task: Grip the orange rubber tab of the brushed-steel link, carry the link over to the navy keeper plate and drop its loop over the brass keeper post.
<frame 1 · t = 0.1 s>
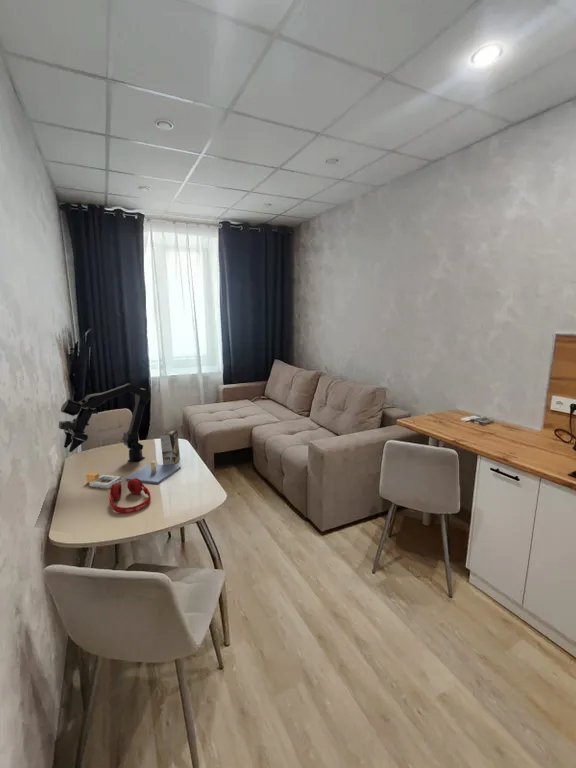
hand: (67, 449, 174), 15 cm above the table, tool tilted 35°, fingers open, 9 cm apart
steel link: (106, 483, 170), on the table
keeper: (154, 474, 178), on the table
coffee box: (171, 461, 193), on the table
headphones: (130, 502, 151), on the table
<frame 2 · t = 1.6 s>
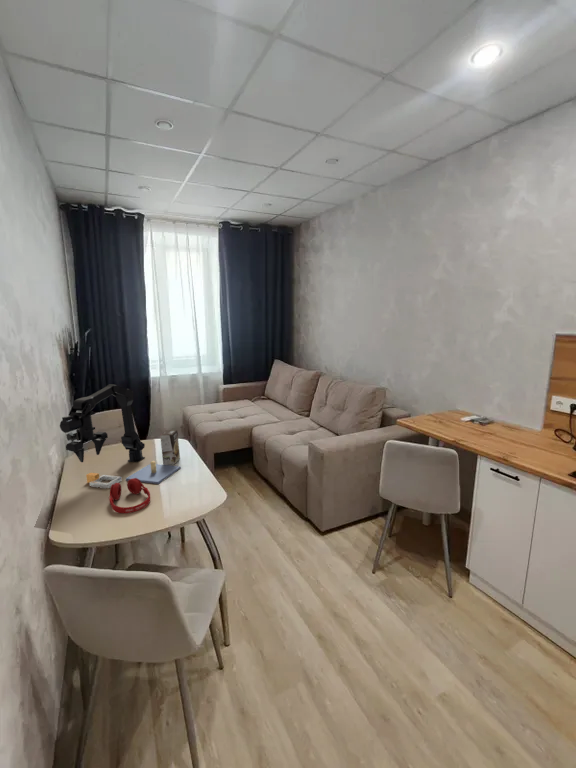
hand: (90, 458, 170), 12 cm above the table, tool pointing down, fingers open, 9 cm apart
nothing on the table moved.
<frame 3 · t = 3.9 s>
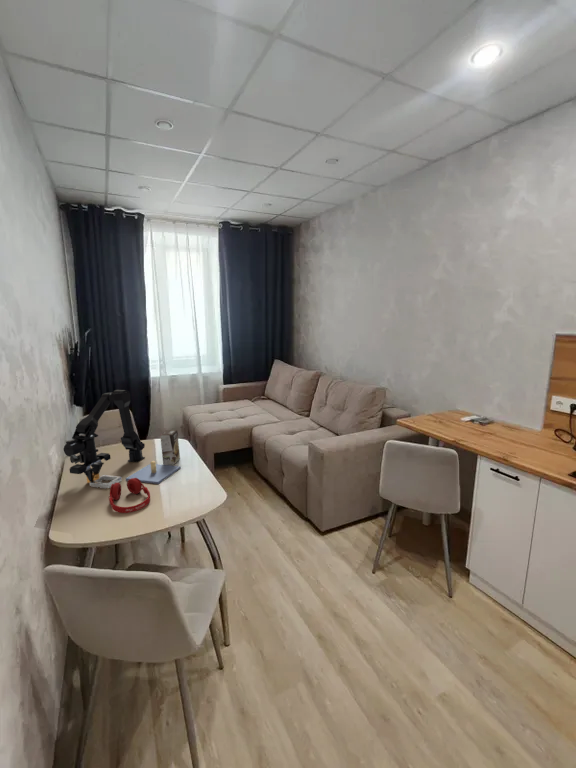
hand: (93, 480, 172), 1 cm above the table, tool pointing down, fingers closed on steel link, 2 cm apart
steel link: (106, 483, 170), on the table, touching gripper
everything else where it was.
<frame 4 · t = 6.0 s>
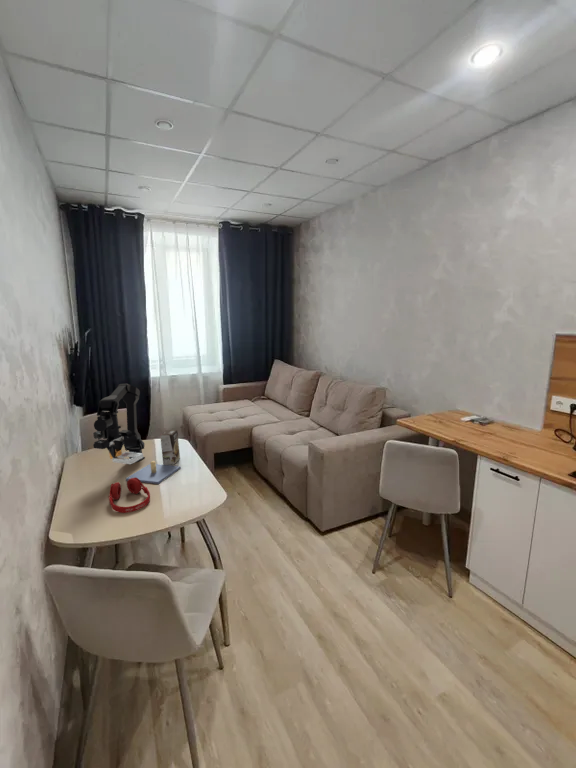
hand: (115, 456, 174), 11 cm above the table, tool pointing down, fingers closed on steel link, 2 cm apart
steel link: (128, 459, 172), point 10 cm above the table, touching gripper
everything else where it was.
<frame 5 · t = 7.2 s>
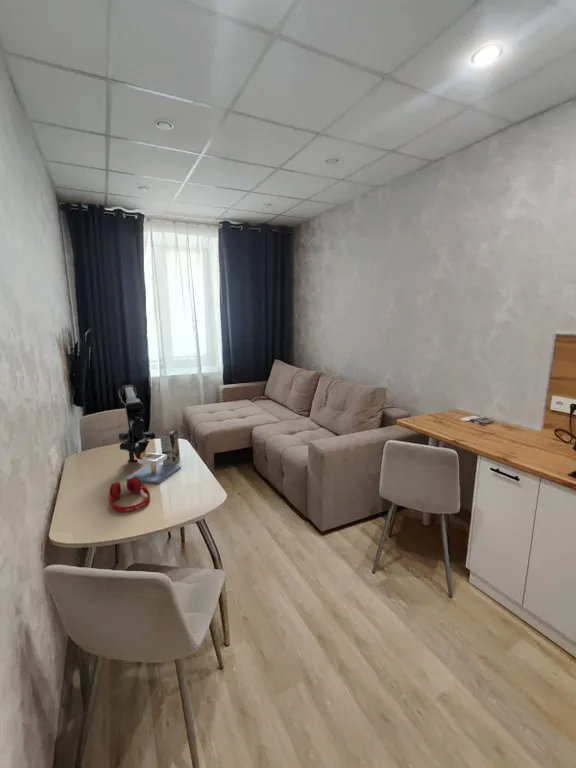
hand: (140, 457, 179), 8 cm above the table, tool pointing down, fingers closed on steel link, 2 cm apart
steel link: (152, 460, 177), point 7 cm above the table, touching gripper
everything else where it was.
when the fingers open (7 cm above the table, at t = 8.2 s): steel link drops 5 cm, resting on keeper.
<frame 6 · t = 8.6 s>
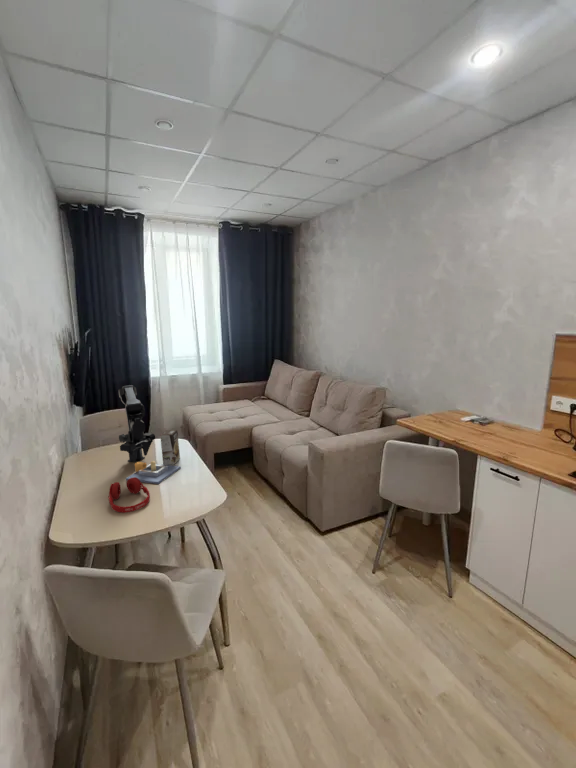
hand: (140, 458, 179), 7 cm above the table, tool pointing down, fingers open, 7 cm apart
steel link: (153, 472, 178), point 1 cm above the table, touching keeper
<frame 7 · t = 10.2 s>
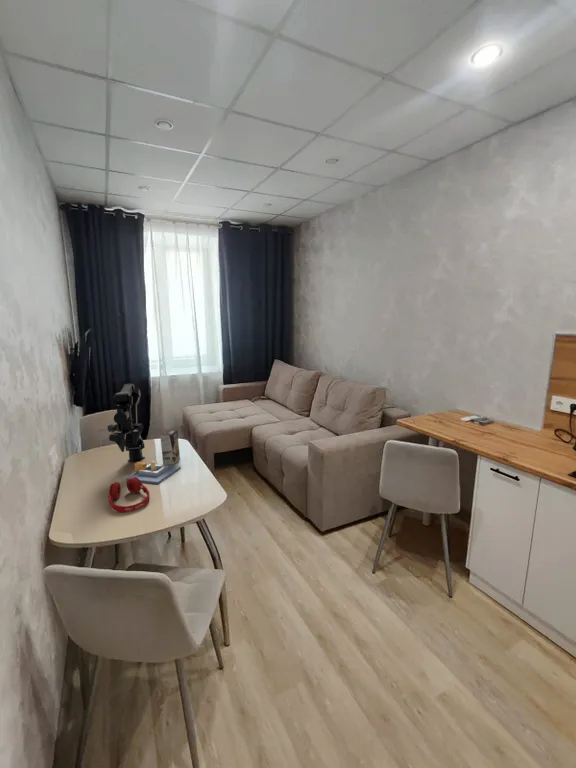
hand: (129, 448, 181), 12 cm above the table, tool pointing down, fingers open, 9 cm apart
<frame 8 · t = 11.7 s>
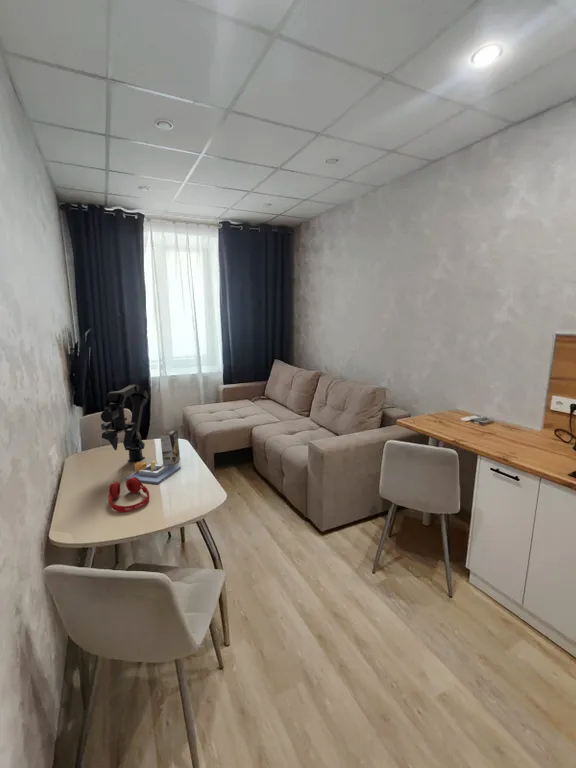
hand: (122, 446, 183), 12 cm above the table, tool pointing down, fingers open, 9 cm apart
at the end: steel link 0.3 cm from the keeper (horizontally); steel link point 1.0 cm above the table; the gripper is holding nothing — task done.
